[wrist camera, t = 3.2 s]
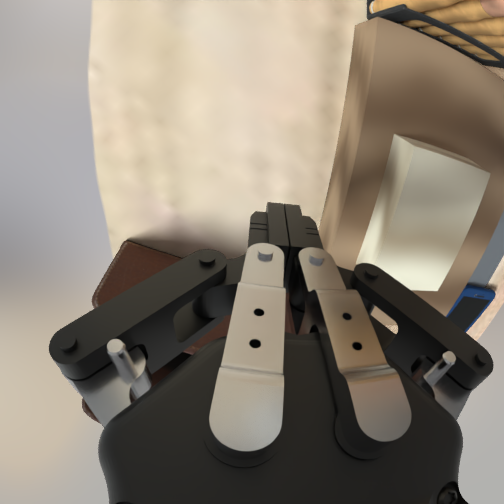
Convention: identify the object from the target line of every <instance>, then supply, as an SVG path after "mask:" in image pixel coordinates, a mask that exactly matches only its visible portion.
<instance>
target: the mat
mask: <svg viewBox="0 0 504 504" xmlns="http://www.w3.org/2000/svg"><path fill="white" fill-rule="evenodd" d="M503 255H504V211H503V213H502V215H501V218H500V220H499V222H498V225H497V227H496V229H495V231H494V233H493V236H492V238H491V240H490V242H489V244H488V246H487V248H486V250H485V252H484V254H483V256H482V258H481V259H480V261H479V263H478V265H477V267H476V269H475V270H474V272H473V274H472V276H471V277H470V279H469V281H468V283H467V284H466V285H472V286H477V287H482V288H485V287H486V285H487V283H488V282H489V280H490V278H491V277H492V275H493V273H494V271H495V270H496V268H497V266H498V264H499V263H500V261H501V259H502V257H503Z"/></svg>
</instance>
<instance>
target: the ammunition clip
mask: <svg viewBox="0 0 504 504" xmlns="http://www.w3.org/2000/svg"><path fill="white" fill-rule="evenodd" d="M376 17H380V18H383V19H386V20H389V21H392V22H394V23H397V24H400V25H402V26H405V27H407V28H410V29H412V30H415V31H417V32H419V33H422V34H424V35H426V36H428V37H430V38H432V39H435V40H437V41H439V42H441V43H443V44H445V45H447V46H449V47H451V48H452V49H454V50H456V51H458V52H460V53H462V54H463V55H465V56H467V57H469V58H471V59H473V60H475V61H477V62H479V63H481V64H483V65H487V66H493V67H499V68H504V0H367V19H368V20H370V19H373V18H376Z"/></svg>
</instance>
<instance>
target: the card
mask: <svg viewBox="0 0 504 504" xmlns="http://www.w3.org/2000/svg"><path fill="white" fill-rule="evenodd" d="M490 174H491V173H489V172H488V171H486V170H485V169H483V168H482V167H480V166H479V165H478V164H476V163H475V162H473V161H471V160H470V159H468V158H466V157H463V156H461V155H458V154H456V153H453V152H450V151H447V150H445V149H442V148H439V147H436V146H433V145H430V144H427V143H424V142H421V141H418V140H414V139H411V138H408V137H404V136H401V135H397V134H394V136H393V141H392V145H391V149H390V153H389V157H388V161H387V165H386V169H385V173H384V176H383V180H382V184H381V187H380V191H379V194H378V197H377V201H376V204H375V207H374V211H373V214H372V217H371V220H370V223H369V226H368V229H367V232H366V235H365V238H364V241H363V244H362V247H361V250H360V253H359V256H358V258H357V261H356V264H360V263H370V264H373V265H375V266H377V267H379V268H381V269H382V270H383V271H385V272H386V273H388V274H389V275H390V276H392V277H393V278H395V279H396V280H397V281H399V282H400V283H402V284H403V285H404V286H406V287H407V288H408V289H410V290H420V291H438V289H439V287H440V286H441V284H442V282H443V280H444V279H445V277H446V275H447V273H448V271H449V270H450V268H451V266H452V264H453V262H454V260H455V258H456V256H457V254H458V252H459V250H460V248H461V246H462V244H463V242H464V240H465V237H466V235H467V233H468V231H469V229H470V226H471V224H472V222H473V219H474V217H475V215H476V212H477V210H478V207H479V205H480V202H481V200H482V197H483V194H484V192H485V189H486V186H487V183H488V180H489V177H490Z"/></svg>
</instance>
